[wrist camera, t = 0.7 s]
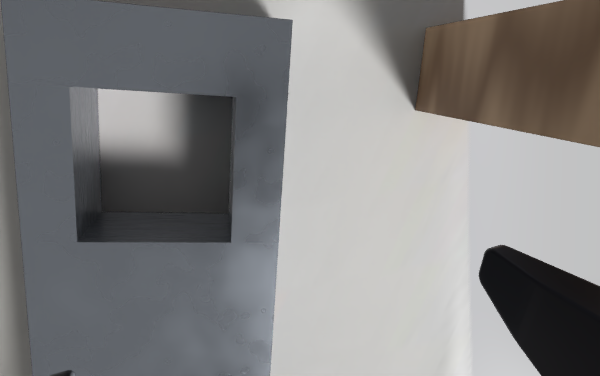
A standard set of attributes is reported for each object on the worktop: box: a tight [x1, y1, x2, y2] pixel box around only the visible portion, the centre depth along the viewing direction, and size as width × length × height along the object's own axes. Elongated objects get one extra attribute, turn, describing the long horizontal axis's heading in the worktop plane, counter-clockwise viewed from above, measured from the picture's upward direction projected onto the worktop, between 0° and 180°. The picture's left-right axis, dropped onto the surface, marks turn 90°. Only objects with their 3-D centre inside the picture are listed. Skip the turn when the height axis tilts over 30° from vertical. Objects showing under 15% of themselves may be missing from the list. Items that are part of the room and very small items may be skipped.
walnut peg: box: [415, 0, 600, 147], centre depth 17 cm, size 4×4×12 cm
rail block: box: [1, 0, 293, 376], centre depth 21 cm, size 22×10×4 cm, turn 176°
